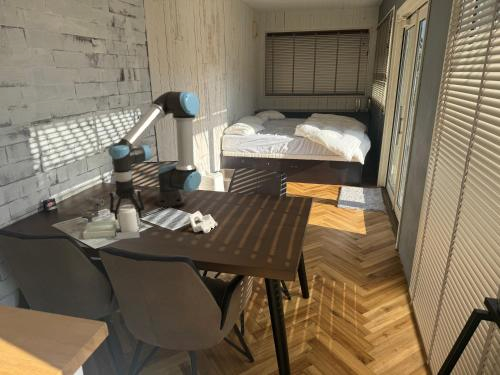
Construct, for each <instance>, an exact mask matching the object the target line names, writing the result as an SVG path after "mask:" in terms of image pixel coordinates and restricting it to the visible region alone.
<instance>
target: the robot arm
mask: <svg viewBox="0 0 500 375" xmlns="http://www.w3.org/2000/svg"><path fill="white" fill-rule="evenodd" d="M199 110H200V101H199V99H198V97H197V96H196V94H194V93H193V92H189V91H172V90H171V91H166V92H164V93H163V94H161V95H159V96H158V97H156V99H155V100H153V102H151V104H150V105H149V109H148V110H147V111H146V112H145V113H144V114H143V115H141V117H140V119H139V120H137V122H135V124H134V125H132V127H131V128H130V129H129V130H128V131H127V132H126V134H125V135H124V136H122V138H121V139H120V140H119V141H118V142H113V143H111V144H110V145H109V146H108V154H109V155H108V156H110V157H111V158H112V160H111V161H112V166H113V173H114V174H113V175H114V180H115V181H114V182H115V191H109V197H110V200H109V201H110V204H109V206H110V207H109V213H110V214H113V215H114V220H118V228H120V219H119V212H118V211H119V208H120V207H121V206H120V205H121V202H122V201H123V200H130V201H131V203H132V205H134V206H135V207H136V210H137V212H136V213H137V222H138V225H140V222H141V221H140V218H142V211H144V210H145V208H146V206H145V205H144V204H145V203H144V201H143V198H142V194H141V193H142V192H141V191H142V190H141V189H135V188H134V183H133V182H134V181H133V173H132V165H133V166H134V165H135V164H136V165H137V164H140V163H145V162H147V161H149V160H151V158H152V155H153V154H152V150H151V148H150V146H148V145H145V144H144V145H139V144H140V143H141V142H142V141H143V139H144V138H145V137H146V136H147V135H148V133H149V132H151V130H152V129H153V128H154V127H155V126H156V125H157V123H158V122H159V121H160V120H161V119H164V118H165V117H166V116H168V115H170V114H172V118H173V119H174V121H175V124H176V144H177V146H176V147H177V148H176V149H177V164H176V163H174V164H165V165H164V164H163V165H161V166H159V167H158V170H157V171H158V173H157V176H158V186H159V193H158V197H157V200H156V201H157V205H158V206H159V207H163V208H174V207H177V206H178V207H179V206H181V205H183V204H184V198H183V195H182V192H181V190H182V191H184V192H194V191H196V190H197V189H198V188H199V187H200V185H201V183H202V175H201V173H200V172H199V171H198V168H197V165H195V163H194V161H195V160H194V159H195V158H194V157H195V156H194V137H193V135H194V133H193V122H194V119H196V115H197V114H198V113H199ZM134 194H135V195H137V199H138V201H139V203H138V202H137V200H136V199H135V197H134ZM116 195H117V196H118V201H117V204H116V206H114V205H115V197H116ZM114 207H115V209H114Z"/></svg>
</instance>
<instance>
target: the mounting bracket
mask: <svg viewBox="0 0 500 375" xmlns="http://www.w3.org/2000/svg"><path fill="white" fill-rule="evenodd" d="M195 218H196V219H198V223H196V222H195ZM188 221H189V223H190V224H191V227H192V230H193V232H194V233H195V232H196V233H198V232H202V231H203V233H204V234H208V233H209V232H211V231H212V230H211V228H213V229H214V227H215V226H216V227H217V226H218V225H219V224H218V222H216V221H215V219H214V218H213V217H212V216H211V214H210V213H209V214H205V215H203V214H202V213H201V212H200V210H197V211H195V212H194V213H192V214H190V215H188ZM216 227H215V228H216ZM210 230H211V231H210Z"/></svg>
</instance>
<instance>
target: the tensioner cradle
mask: <svg viewBox="0 0 500 375" xmlns="http://www.w3.org/2000/svg"><path fill="white" fill-rule="evenodd" d="M138 226H139V229H141V228H142V223H141V221H140V225H138ZM119 230H120V231H121V226H120V227H119ZM115 237H116V240H125V239H127V240H128V239H136V238H137V239H138V238H140V230H137V231H130V232H122V231H121V232H118V231H117V232H116V235H115Z"/></svg>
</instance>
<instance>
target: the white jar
mask: <svg viewBox="0 0 500 375" xmlns="http://www.w3.org/2000/svg"><path fill="white" fill-rule="evenodd" d="M117 212H119V219H120V226H121V230H120V231H121V232H130V231H139V229H140V228H139V226H138V222H137V213H136V212H137V209H136V207H135V206H134V204H124V205H121V206H119V208H118V211H117Z"/></svg>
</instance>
